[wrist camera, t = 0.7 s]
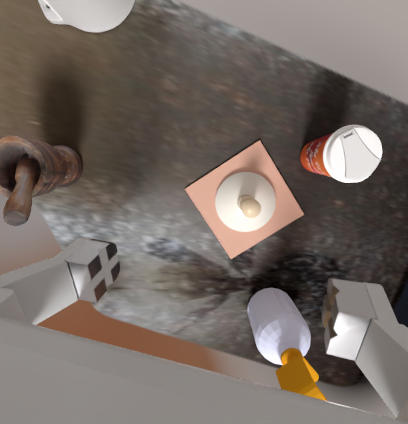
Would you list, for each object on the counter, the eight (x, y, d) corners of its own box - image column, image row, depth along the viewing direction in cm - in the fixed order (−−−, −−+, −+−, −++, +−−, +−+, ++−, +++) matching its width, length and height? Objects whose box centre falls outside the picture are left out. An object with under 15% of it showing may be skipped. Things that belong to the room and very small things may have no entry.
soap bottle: (265, 336, 56) (309, 467, 32) (237, 304, 55) (262, 415, 31) (301, 311, 55) (375, 426, 31) (274, 277, 54) (328, 370, 30)
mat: (185, 188, 51) (184, 189, 51) (259, 140, 50) (259, 140, 49) (230, 258, 54) (231, 259, 53) (303, 214, 52) (304, 214, 52)
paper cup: (286, 147, 50) (317, 141, 36) (326, 126, 49) (373, 112, 35) (304, 185, 51) (341, 194, 37) (343, 166, 50) (395, 167, 37)
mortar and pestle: (109, 172, 51) (48, 178, 31) (84, 209, 52) (10, 237, 33) (55, 133, 50) (-43, 114, 30) (31, 172, 51) (-79, 178, 31)
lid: (203, 193, 51) (202, 198, 43) (254, 159, 50) (263, 159, 42) (235, 241, 53) (240, 255, 45) (285, 210, 51) (299, 218, 44)
